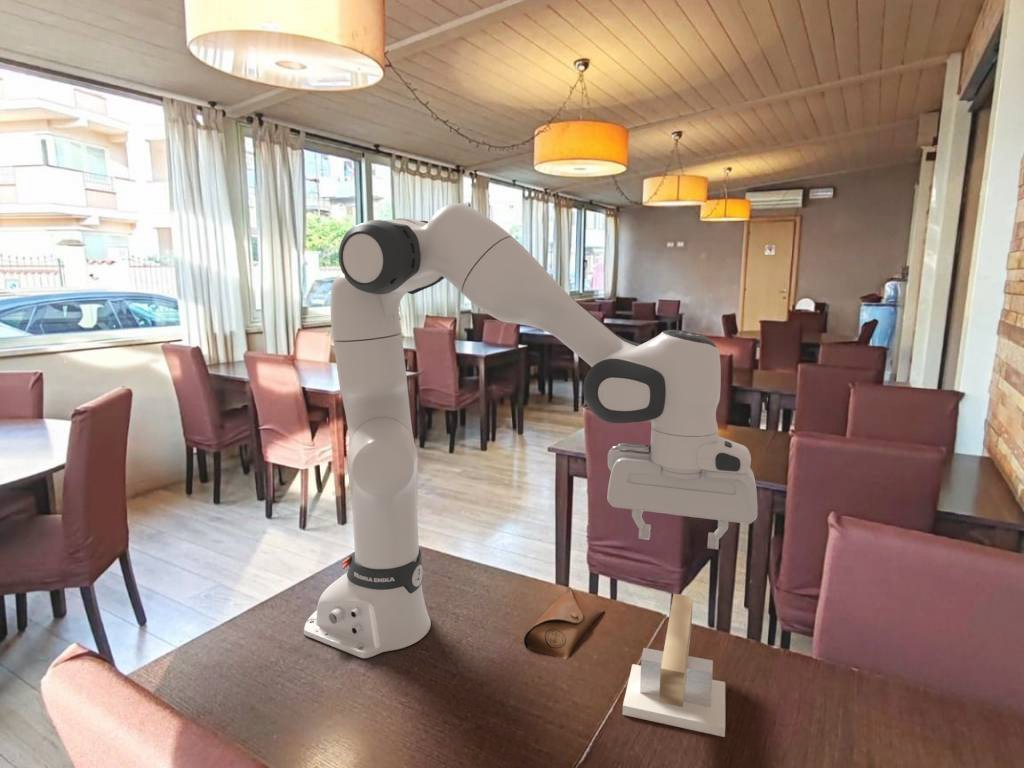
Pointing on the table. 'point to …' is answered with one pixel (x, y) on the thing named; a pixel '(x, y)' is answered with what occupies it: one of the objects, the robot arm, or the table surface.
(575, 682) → the table surface
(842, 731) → the table surface
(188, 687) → the table surface
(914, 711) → the table surface
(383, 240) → the robot arm
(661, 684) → the oak rod
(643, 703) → the ridge stand
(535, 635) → the sunglasses case
